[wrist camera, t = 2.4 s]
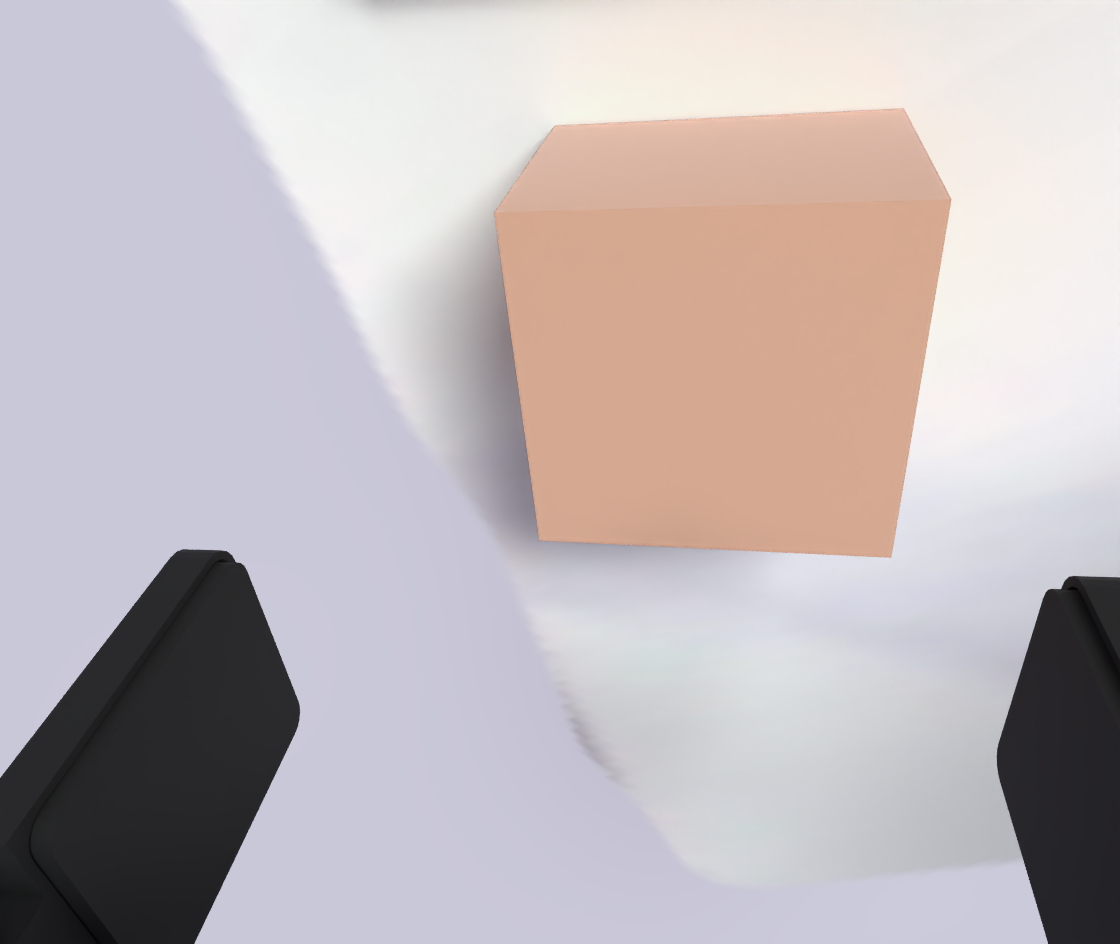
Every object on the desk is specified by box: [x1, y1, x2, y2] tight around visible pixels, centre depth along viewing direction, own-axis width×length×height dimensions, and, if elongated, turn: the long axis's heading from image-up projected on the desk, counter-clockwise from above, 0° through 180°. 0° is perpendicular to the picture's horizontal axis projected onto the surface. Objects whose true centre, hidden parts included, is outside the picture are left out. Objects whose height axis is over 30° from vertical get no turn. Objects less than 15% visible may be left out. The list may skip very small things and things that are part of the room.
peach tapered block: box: [494, 109, 951, 558], centre depth 17 cm, size 7×7×5 cm
